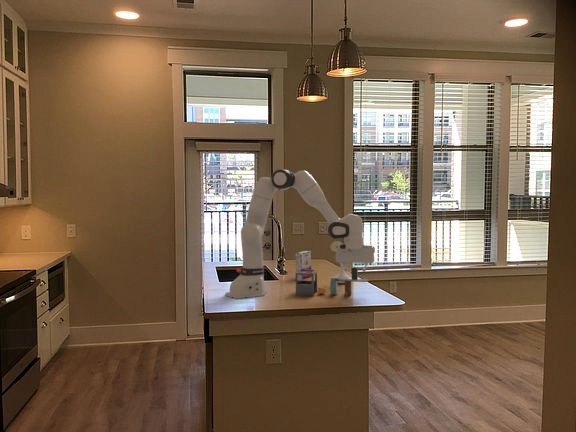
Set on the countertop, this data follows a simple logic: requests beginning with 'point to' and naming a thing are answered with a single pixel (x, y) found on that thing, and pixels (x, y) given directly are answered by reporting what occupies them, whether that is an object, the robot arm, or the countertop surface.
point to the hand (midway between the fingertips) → (355, 271)
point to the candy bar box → (303, 262)
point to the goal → (306, 283)
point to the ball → (321, 290)
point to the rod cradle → (347, 287)
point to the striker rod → (334, 280)
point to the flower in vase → (342, 273)
